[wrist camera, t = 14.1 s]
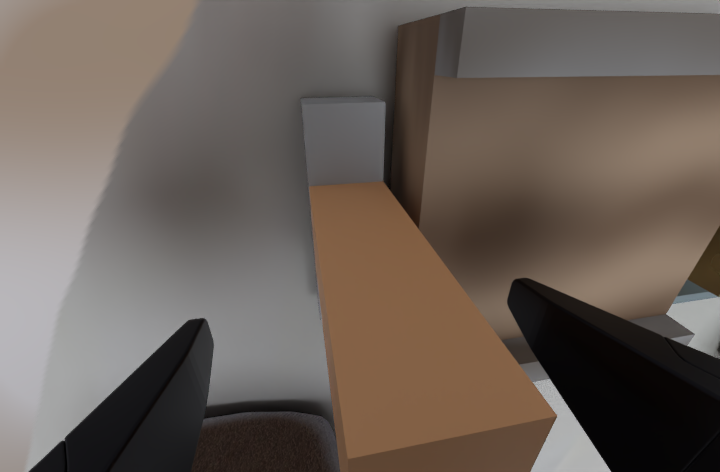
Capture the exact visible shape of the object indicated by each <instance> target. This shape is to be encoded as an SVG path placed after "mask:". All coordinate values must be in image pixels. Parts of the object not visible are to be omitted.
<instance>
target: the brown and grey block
mask: <svg viewBox="0 0 720 472" xmlns="http://www.w3.org/2000/svg"><path fill="white" fill-rule="evenodd" d="M301 110H302V121H303V133H304V144H305V156H306V167H307V179H308V191H309V202H310V214H311V225H312V237H313V248H314V260H315V272H316V283H317V295H318V304H319V312H320V320H321V319H322V323H323V332H324V340H325V348H326V357H327V365H328V374H329V382H330V390H331V399H332V407H333V415H334V424H335V432H336V440H337V449H338V457H339V465H340V472H530V471H531V469H532V467H533V465H534V463H535V461H536V459H537V457H538V454H539V452H540V450H541V448H542V446H543V444H544V442H545V440H546V438H547V436H548V434H549V432H550V430H551V428H552V426H553V424H554V422H555V420H556V418H557V415H556V414H555V412H554V411H553V410H552V408H551V407H550V406H549V404H548V403H547V401H546V400H545V399H544V397H543V396H542V395H541V393H540V392H539V391H538V389H537V388H536V387H535V385H534V384H533V383H532V381H531V380H530V379H529V377H528V376H527V375H526V373H525V372H524V370H523V369H522V368H521V366H520V365H519V364H518V362H517V361H516V360H515V358H514V357H513V356H512V354H511V353H510V352H509V350H508V349H507V348H506V346H505V345H504V344H503V342H502V341H501V339H500V338H499V337H498V335H497V334H496V333H495V331H494V330H493V329H492V327H491V326H490V325H489V323H488V322H487V321H486V319H485V318H484V317H483V315H482V314H481V313H480V311H479V310H478V308H477V307H476V306H475V304H474V303H473V302H472V300H471V299H470V298H469V296H468V295H467V294H466V292H465V291H464V290H463V288H462V287H461V286H460V284H459V283H458V282H457V280H456V279H455V277H454V276H453V275H452V273H451V272H450V271H449V269H448V268H447V267H446V265H445V264H444V263H443V261H442V260H441V259H440V257H439V256H438V255H437V253H436V252H435V250H434V249H433V248H432V246H431V245H430V244H429V242H428V241H427V240H426V238H425V237H424V236H423V234H422V233H421V232H420V230H419V229H418V228H417V226H416V225H415V224H414V222H413V221H412V219H411V218H410V217H409V215H408V214H407V213H406V211H405V210H404V209H403V207H402V206H401V205H400V203H399V202H398V201H397V199H396V198H395V197H394V195H393V194H392V193H391V191H390V190H389V188H388V187H387V186H386V184H385V183H384V182H383V172H384V141H385V111H386V102H384V101H382V100H380V99H378V98H376V97H374V96H367V97H327V98H301Z"/></svg>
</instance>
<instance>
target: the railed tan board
mask: <svg viewBox="0 0 720 472" xmlns="http://www.w3.org/2000/svg"><path fill="white" fill-rule="evenodd" d="M390 191H391V193H392V194H393V195H394V197H395V198H396V199H397V201H398V202H399V203H400V205H401V206H402V207H403V209H404V210H405V211H406V213H407V214H408V215H409V217H410V218H411V219H412V221H413V222H414V224H415V225H416V226H417V228H418V229H419V230H420V232H421V233H422V234H423V236H424V237H425V238H426V240H427V241H428V242H429V244H430V245H431V246H432V248H433V249H434V250H435V252H436V253H437V255H438V256H439V257H440V259H441V260H442V261H443V263H444V264H445V265H446V267H447V268H448V269H449V271H450V272H451V273H452V275H453V276H454V277H455V279H456V280H457V282H458V283H459V284H460V286H461V287H462V288H463V290H464V291H465V292H466V294H467V295H468V296H469V298H470V299H471V300H472V302H473V303H474V304H475V306H476V307H477V308H478V310H479V311H480V313H481V314H482V315H483V317H484V318H485V319H486V321H487V322H488V323H489V325H490V326H491V327H492V329H493V330H494V331H495V333H496V334H497V335H498V337H499V338H500V339H501V341H502V342H503V344H504V345H505V346H506V348H507V349H508V350H509V352H510V353H511V354H512V356H513V357H514V358H515V360H516V361H517V362H518V364H519V365H520V366H521V368H522V369H523V370H524V372H525V373H526V375H527V376H528V377H529V379H530V380H531V381H532V382H535V381H540V380H546V379H550V378H549V377H548V375H547V374H546V372H545V371H544V369H543V368H542V366H541V364H540V363H539V361H538V360H537V358H536V357H535V355H534V354H533V352H532V351H531V349H530V347H529V345H528V344H527V342H526V340H525V338H524V336H523V334H522V332H521V330H520V328H519V327H518V325H517V323H516V321H515V319H514V317H513V315H512V313H511V311H510V310H509V308H508V305H507V298H508V294H509V291H510V287H511V284H512V281H513V280H514V279H518V278H530V279H532V280H534V281H537V282H539V283H541V284H544V285H546V286H548V287H551V288H553V289H555V290H558V291H560V292H562V293H565V294H567V295H569V296H572V297H574V298H576V299H579V300H581V301H583V302H586V303H588V304H590V305H593V306H595V307H597V308H600V309H602V310H604V311H607V312H609V313H611V314H614V315H616V316H618V317H621V318H623V319H625V320H628V321H630V322H632V323H635V324H637V325H639V326H642V327H644V328H646V329H649V330H651V331H653V332H656V333H658V334H660V335H662V336H663V337H667V338H670V339H672V340H674V341H677V342H679V343H681V344H684V345H686V346H687V345H688V344H689V342H690V341H691V339H692V338H693V336H694V335H695V334H694V333H692V332H691V331H689V330H688V329H687V328H685V327H684V326H682V325H681V324H679V323H678V322H676V321H675V320H673V319H672V318H670V317H669V316H668V315H666V313H667V311H668V310H669V308H670V307H671V305H672V303H673V302H674V300H675V298H676V297H677V295H678V293H679V292H680V290H681V288H682V287H683V285H684V284H685V282H686V280H687V279H688V277H689V275H690V274H691V272H692V270H693V269H694V267H695V266H696V264H697V262H698V261H699V259H700V257H701V256H702V254H703V252H704V251H705V249H706V247H707V246H708V244H709V243H710V241H711V239H712V238H713V236H714V234H715V233H716V231H717V229H718V228H719V226H720V14H706V13H670V12H633V11H596V10H560V9H523V8H487V7H464V8H461V9H457V10H453V11H450V12H446V13H443V14H439V15H435V16H432V17H428V18H425V19H421V20H418V21H414V22H410V23H407V24H403V25H400V26H398V44H397V64H396V85H395V105H394V126H393V146H392V167H391V187H390Z"/></svg>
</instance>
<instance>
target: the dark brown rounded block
mask: <svg viewBox="0 0 720 472" xmlns="http://www.w3.org/2000/svg"><path fill="white" fill-rule="evenodd" d="M191 472H340V465H339V457H338V449H337V440H336V436H335V434H334V432H333V430H332V428H331V426H330V424H329V422H328V421H327V420H325V419H324V418H323V417H322V416H317V415H311V414H305V413H298V412H245V413H238V414H232V415H225V416H219V417H212V418H206V419H203V423H202V427H201V432H200V436H199V440H198V444H197V448H196V453H195V457H194V461H193V465H192V469H191Z"/></svg>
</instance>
